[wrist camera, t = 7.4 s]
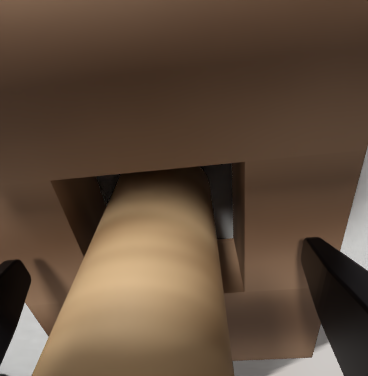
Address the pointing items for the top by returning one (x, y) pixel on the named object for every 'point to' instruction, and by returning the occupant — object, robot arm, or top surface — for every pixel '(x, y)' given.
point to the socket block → (186, 137)
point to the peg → (147, 287)
